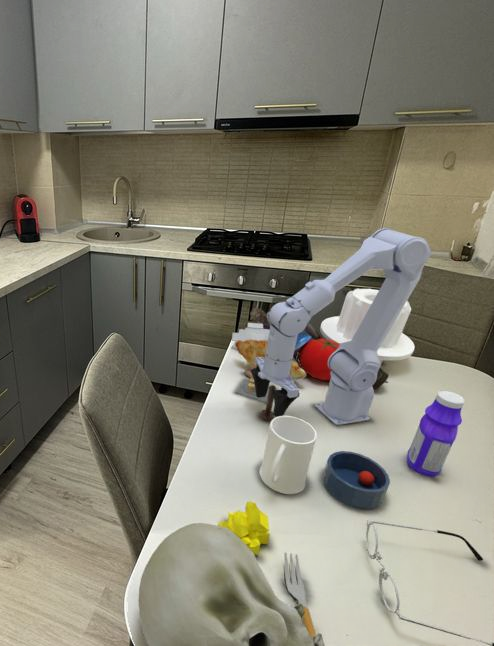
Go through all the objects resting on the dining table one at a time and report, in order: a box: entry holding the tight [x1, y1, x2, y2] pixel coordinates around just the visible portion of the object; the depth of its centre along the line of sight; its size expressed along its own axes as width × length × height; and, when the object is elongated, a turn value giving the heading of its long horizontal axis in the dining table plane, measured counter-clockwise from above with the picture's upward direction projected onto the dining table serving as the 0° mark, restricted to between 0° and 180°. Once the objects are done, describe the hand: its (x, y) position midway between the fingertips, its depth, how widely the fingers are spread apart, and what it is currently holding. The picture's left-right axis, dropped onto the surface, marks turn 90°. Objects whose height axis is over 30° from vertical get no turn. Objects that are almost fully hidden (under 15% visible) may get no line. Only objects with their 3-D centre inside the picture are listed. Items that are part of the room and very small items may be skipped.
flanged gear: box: [319, 287, 415, 365], centre depth 120 cm, size 25×25×19 cm
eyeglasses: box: [365, 519, 494, 646], centre depth 58 cm, size 16×19×5 cm
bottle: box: [406, 390, 465, 478], centre depth 78 cm, size 7×6×17 cm
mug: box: [258, 415, 318, 495], centre depth 76 cm, size 12×8×12 cm
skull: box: [138, 522, 325, 646], centre depth 51 cm, size 15×18×20 cm
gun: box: [303, 321, 323, 340], centre depth 119 cm, size 2×34×7 cm
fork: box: [283, 551, 317, 637], centre depth 54 cm, size 2×2×20 cm
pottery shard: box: [243, 367, 256, 379], centre depth 112 cm, size 7×1×5 cm
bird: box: [249, 306, 313, 354], centre depth 123 cm, size 6×29×5 cm
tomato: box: [297, 337, 341, 381], centre depth 112 cm, size 13×12×11 cm
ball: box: [359, 471, 374, 486], centre depth 77 cm, size 3×3×3 cm
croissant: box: [234, 340, 307, 380], centre depth 113 cm, size 21×10×8 cm
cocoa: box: [372, 367, 389, 391], centre depth 107 cm, size 7×8×10 cm
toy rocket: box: [231, 322, 270, 342], centre depth 125 cm, size 16×10×2 cm
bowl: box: [322, 450, 391, 511], centre depth 76 cm, size 10×10×4 cm
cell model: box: [293, 332, 312, 368], centre depth 115 cm, size 10×12×10 cm
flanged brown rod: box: [260, 384, 277, 422], centre depth 95 cm, size 3×3×9 cm
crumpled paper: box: [217, 501, 270, 556], centre depth 65 cm, size 6×8×8 cm
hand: (269, 405), depth 95 cm, fingers open, 7 cm apart
